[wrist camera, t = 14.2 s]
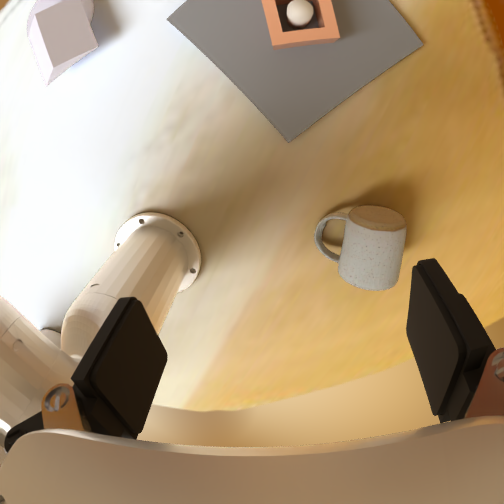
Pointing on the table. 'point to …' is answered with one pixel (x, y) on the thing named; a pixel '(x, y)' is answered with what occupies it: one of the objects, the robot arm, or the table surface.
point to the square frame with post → (307, 36)
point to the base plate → (297, 53)
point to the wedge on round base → (60, 34)
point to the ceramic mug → (368, 246)
